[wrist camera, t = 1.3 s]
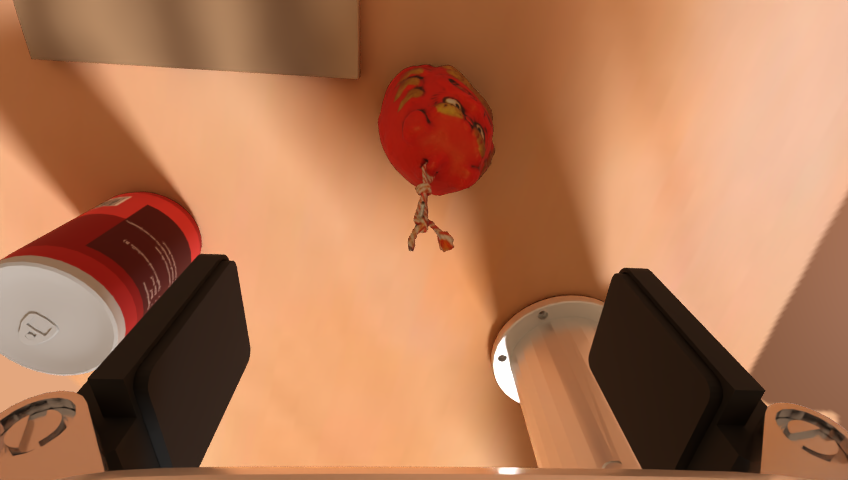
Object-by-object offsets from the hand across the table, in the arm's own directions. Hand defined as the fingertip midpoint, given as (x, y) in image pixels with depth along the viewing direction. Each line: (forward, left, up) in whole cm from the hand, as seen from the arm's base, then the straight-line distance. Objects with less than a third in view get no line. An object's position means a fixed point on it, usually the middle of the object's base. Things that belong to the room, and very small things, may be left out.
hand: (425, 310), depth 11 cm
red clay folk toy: (-1, -1, -22) cm, 22 cm away
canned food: (+20, +9, -22) cm, 31 cm away
